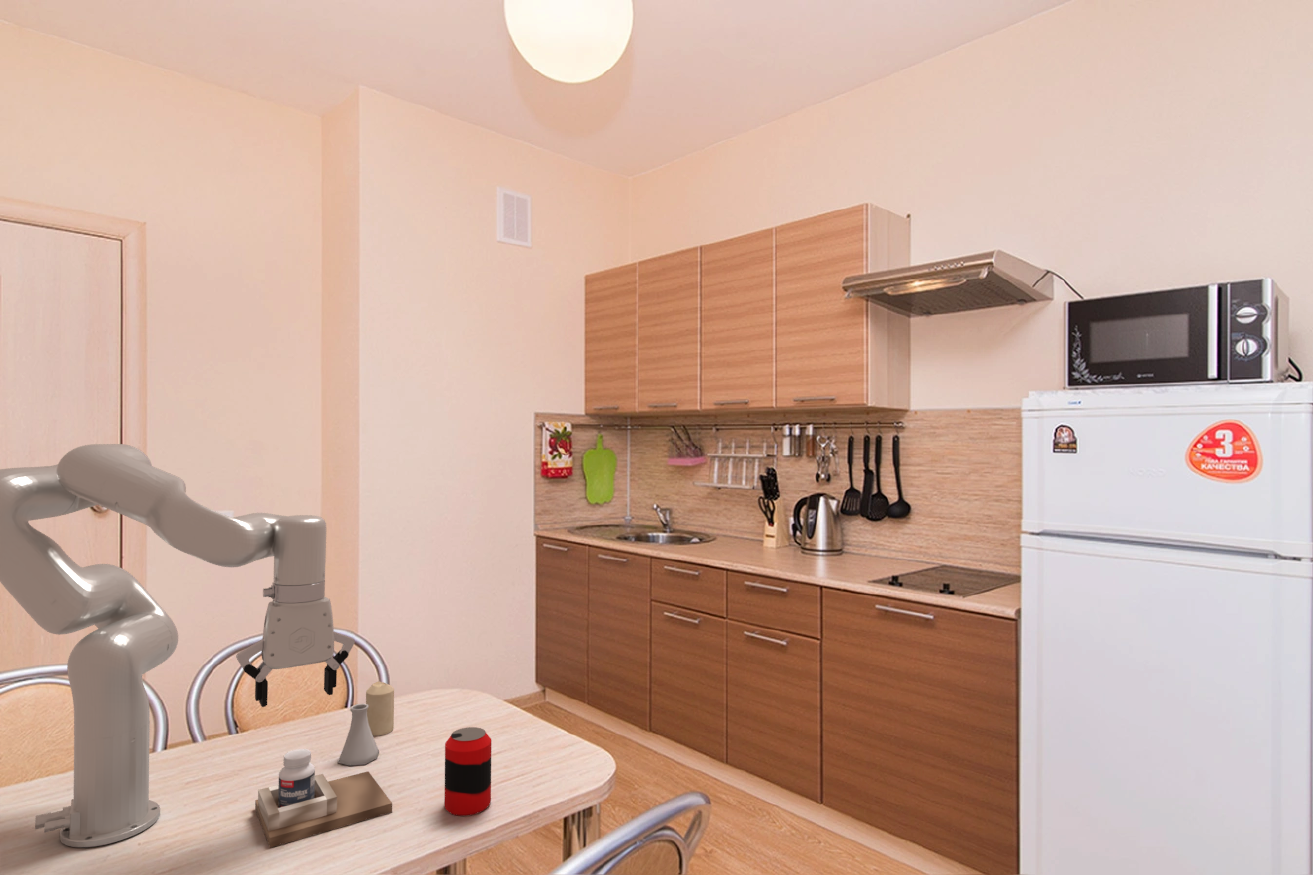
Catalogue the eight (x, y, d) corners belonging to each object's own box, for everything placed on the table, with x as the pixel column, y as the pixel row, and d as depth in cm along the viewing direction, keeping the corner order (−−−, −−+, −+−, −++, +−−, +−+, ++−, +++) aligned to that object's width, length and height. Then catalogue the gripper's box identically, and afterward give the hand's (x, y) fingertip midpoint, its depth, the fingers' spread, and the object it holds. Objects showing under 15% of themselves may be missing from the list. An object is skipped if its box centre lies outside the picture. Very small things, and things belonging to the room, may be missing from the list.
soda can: (441, 799, 124) (442, 728, 124) (486, 790, 127) (486, 722, 127) (447, 820, 117) (448, 746, 117) (494, 811, 120) (495, 738, 120)
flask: (385, 751, 143) (386, 700, 143) (367, 767, 136) (368, 714, 136) (350, 749, 143) (351, 698, 143) (330, 765, 136) (331, 712, 136)
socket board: (269, 847, 109) (270, 821, 109) (255, 809, 120) (255, 784, 120) (392, 811, 120) (392, 787, 120) (368, 779, 131) (368, 757, 131)
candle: (399, 729, 153) (399, 682, 153) (376, 738, 149) (377, 689, 149) (382, 723, 156) (383, 677, 156) (359, 732, 152) (360, 684, 152)
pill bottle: (274, 818, 114) (274, 762, 114) (282, 802, 119) (282, 748, 119) (311, 814, 116) (311, 758, 116) (317, 798, 121) (317, 745, 121)
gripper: (241, 603, 109) (238, 716, 109) (361, 591, 120) (358, 695, 120) (234, 593, 115) (231, 701, 115) (349, 583, 126) (346, 682, 126)
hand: (296, 698), depth 118 cm, fingers open, 9 cm apart
